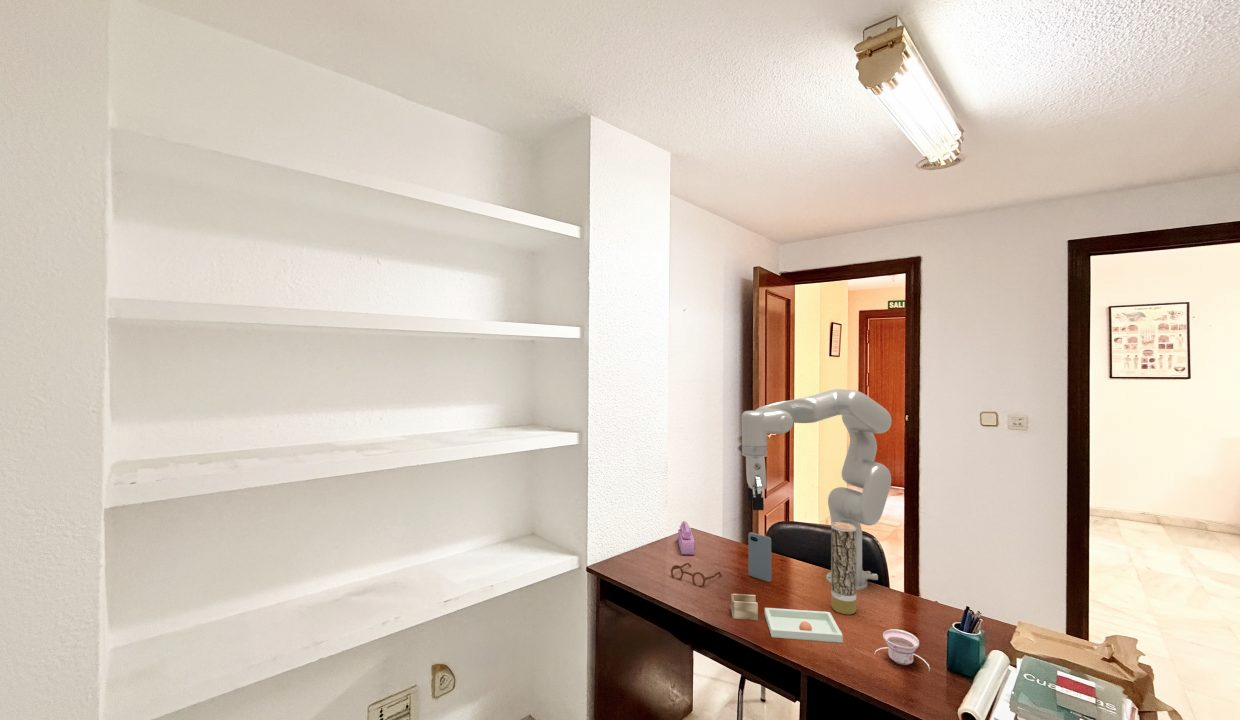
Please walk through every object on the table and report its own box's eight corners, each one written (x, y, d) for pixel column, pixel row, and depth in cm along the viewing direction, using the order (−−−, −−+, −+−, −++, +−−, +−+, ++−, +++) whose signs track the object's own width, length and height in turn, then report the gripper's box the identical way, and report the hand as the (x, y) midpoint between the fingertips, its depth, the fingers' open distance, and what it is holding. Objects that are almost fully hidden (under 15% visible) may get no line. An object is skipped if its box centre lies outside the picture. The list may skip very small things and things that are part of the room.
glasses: (670, 579, 169) (670, 564, 169) (690, 566, 179) (690, 553, 179) (703, 590, 160) (703, 575, 160) (723, 577, 170) (723, 562, 170)
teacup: (885, 643, 130) (885, 620, 130) (937, 665, 121) (937, 639, 121) (865, 662, 122) (865, 637, 122) (919, 686, 113) (919, 659, 113)
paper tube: (845, 617, 142) (845, 531, 142) (826, 607, 149) (826, 524, 149) (861, 612, 146) (861, 527, 146) (841, 602, 152) (841, 521, 152)
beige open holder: (755, 613, 145) (755, 595, 145) (757, 622, 140) (757, 603, 140) (731, 611, 146) (731, 593, 146) (732, 620, 141) (732, 601, 141)
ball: (797, 619, 134) (796, 630, 134) (804, 626, 131) (803, 638, 131) (807, 618, 135) (806, 629, 135) (814, 625, 132) (813, 636, 132)
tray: (829, 620, 141) (829, 611, 141) (842, 644, 129) (842, 635, 129) (764, 616, 143) (764, 607, 143) (771, 639, 131) (771, 630, 131)
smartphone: (771, 582, 165) (771, 537, 165) (770, 583, 165) (770, 538, 165) (749, 574, 171) (749, 531, 171) (747, 575, 170) (747, 532, 170)
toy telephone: (696, 556, 188) (696, 530, 188) (679, 556, 188) (679, 529, 188) (690, 539, 205) (690, 515, 205) (675, 539, 206) (675, 515, 206)
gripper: (772, 456, 145) (773, 514, 145) (762, 445, 162) (763, 497, 163) (745, 456, 146) (747, 513, 146) (739, 445, 163) (740, 497, 163)
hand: (755, 505), depth 154 cm, fingers open, 9 cm apart
